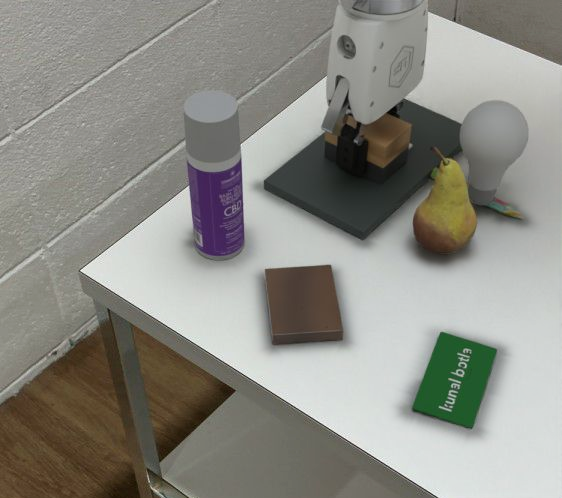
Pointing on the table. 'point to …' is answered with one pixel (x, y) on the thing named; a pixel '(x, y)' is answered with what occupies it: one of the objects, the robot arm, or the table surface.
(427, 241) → the fruit
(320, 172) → the board
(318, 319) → the eraser rest
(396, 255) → the table surface
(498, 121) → the lightbulb
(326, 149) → the eraser
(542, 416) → the table surface
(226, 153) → the container
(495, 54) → the table surface
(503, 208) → the pencil
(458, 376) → the business card
